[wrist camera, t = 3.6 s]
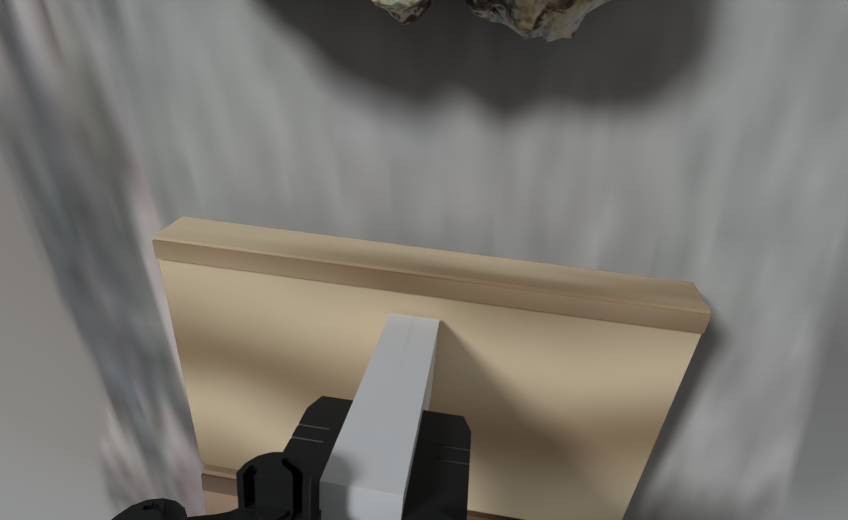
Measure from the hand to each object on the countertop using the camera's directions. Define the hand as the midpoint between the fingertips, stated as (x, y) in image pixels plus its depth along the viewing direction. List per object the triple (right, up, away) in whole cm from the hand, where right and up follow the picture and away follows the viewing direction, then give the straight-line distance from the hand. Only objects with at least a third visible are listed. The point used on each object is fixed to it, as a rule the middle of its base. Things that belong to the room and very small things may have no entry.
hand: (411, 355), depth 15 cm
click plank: (0, -1, +3) cm, 3 cm away
